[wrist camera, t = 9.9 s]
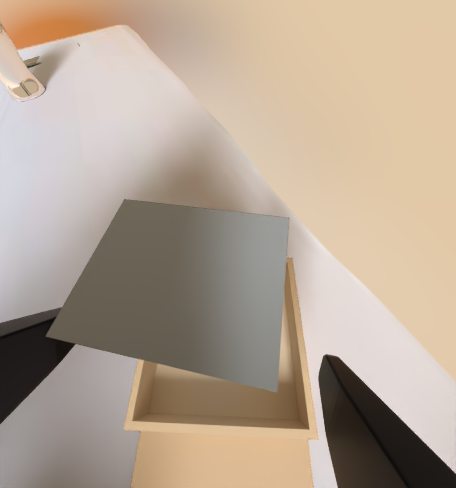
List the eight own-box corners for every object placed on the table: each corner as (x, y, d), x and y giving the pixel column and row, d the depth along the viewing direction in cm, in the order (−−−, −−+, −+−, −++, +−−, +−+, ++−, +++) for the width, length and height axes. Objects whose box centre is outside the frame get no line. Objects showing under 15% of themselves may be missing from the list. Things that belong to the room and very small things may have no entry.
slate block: (186, 357, 16) (45, 336, 5) (200, 305, 18) (124, 199, 7) (253, 373, 15) (277, 392, 4) (259, 316, 17) (289, 218, 6)
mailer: (120, 559, 12) (84, 614, 9) (170, 272, 20) (159, 258, 17) (323, 578, 11) (348, 645, 8) (285, 272, 19) (292, 257, 17)
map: (10, 69, 50) (6, 64, 49) (84, 39, 58) (81, 35, 57) (20, 74, 48) (16, 69, 47) (94, 42, 56) (92, 37, 55)
